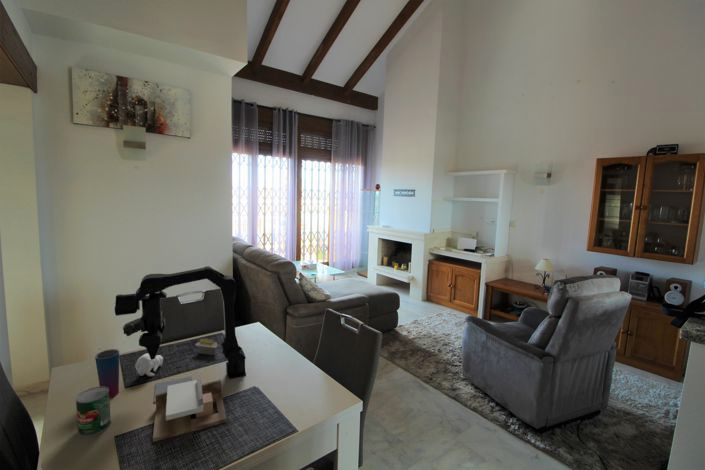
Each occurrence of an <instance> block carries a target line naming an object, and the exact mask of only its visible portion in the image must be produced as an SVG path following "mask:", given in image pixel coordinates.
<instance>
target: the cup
mask: <svg viewBox="0 0 705 470" xmlns="http://www.w3.org/2000/svg"><path fill="white" fill-rule="evenodd" d="M94 358H95V359H94V360H95V365H96V370H97V377H98V384H99V387H101V386H103V387H107V388H108V389H109V399H110V398H113V397H115V396H117V395H118V394H119V393H120V392H119V391H120V350H119V349H113V348H111V349H106V350H103V351H100V352H98V353H96V354H95V355H94Z"/></svg>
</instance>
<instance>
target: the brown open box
mask: <svg viewBox="0 0 705 470" xmlns="http://www.w3.org/2000/svg"><path fill="white" fill-rule="evenodd" d="M201 384H202V394H207V393H212V400H213V404H214V403H215V404H216V410H217V412H216V413H213V414H212V415H208V416H204V417H200V418H196V417H195V418H192V417H191V415H192V414H190V415H186V416H182V417H178V418H174V419H170V420H166V404H167V392H162V393H157V394H156V403H155V415H154V422H153V423H154V425H153V431H152V432H153V433H152V443H154V442H159V441H163V440H167V439H170V438H173V437H177V436H180V435H185V434H188V433H191V432H194V431H199V430H203V429H207V428H210V427H213V426H218V425H220V424H223V423H224V424H225V423H227V413H226V410H225V405H224V399H223V395H222V380H221V379H219V380H214V381H210V382H205V383H201Z"/></svg>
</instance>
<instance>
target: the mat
mask: <svg viewBox="0 0 705 470" xmlns="http://www.w3.org/2000/svg"><path fill="white" fill-rule="evenodd" d="M189 381H193V376H192V375H191V376H186V377H181V378H177V379H172V380H167V381H162V382H157V383H155V389H154V397H153V404H156V394H157V393H162V392H167V388H168V386H170V385H174V384H179V383H184V382H189Z"/></svg>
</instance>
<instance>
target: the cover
mask: <svg viewBox="0 0 705 470" xmlns="http://www.w3.org/2000/svg"><path fill="white" fill-rule="evenodd" d="M202 384H203V383H202V377H201V375H197V376H196V379H195V380H192V381H189V382H184V383H179V384H174V385H170V386H168V388H167V404H166V420H170V419H174V418H178V417H182V416H186V415H190V414H191V415H193V414H194V415H195V414H196V413H198V412H202V411H204V410H203V394H202Z"/></svg>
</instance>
